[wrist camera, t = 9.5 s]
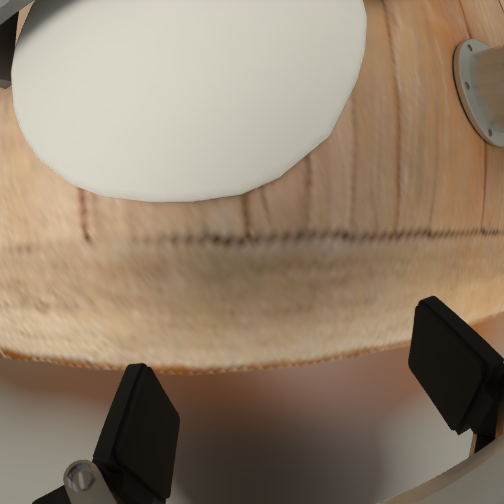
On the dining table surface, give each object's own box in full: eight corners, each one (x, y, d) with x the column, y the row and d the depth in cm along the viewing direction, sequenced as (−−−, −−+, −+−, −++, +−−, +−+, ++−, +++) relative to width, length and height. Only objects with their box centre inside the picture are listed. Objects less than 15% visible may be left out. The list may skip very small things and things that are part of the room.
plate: (41, -53, 6) (331, -94, 8) (64, -24, 12) (314, -58, 14) (-13, 241, 12) (422, 188, 14) (38, 227, 18) (370, 187, 20)
